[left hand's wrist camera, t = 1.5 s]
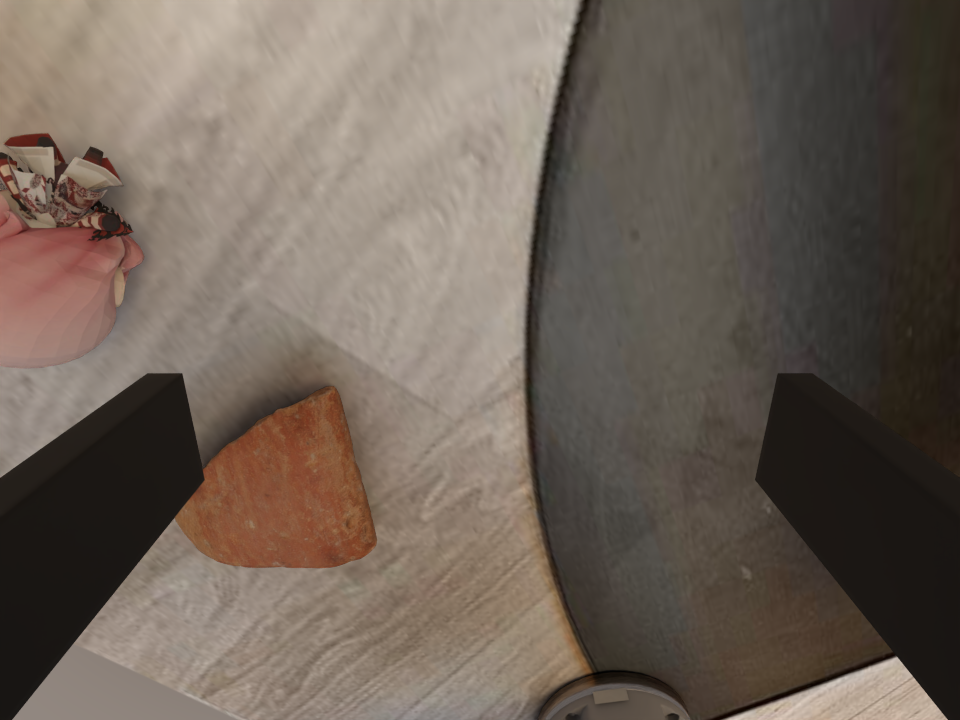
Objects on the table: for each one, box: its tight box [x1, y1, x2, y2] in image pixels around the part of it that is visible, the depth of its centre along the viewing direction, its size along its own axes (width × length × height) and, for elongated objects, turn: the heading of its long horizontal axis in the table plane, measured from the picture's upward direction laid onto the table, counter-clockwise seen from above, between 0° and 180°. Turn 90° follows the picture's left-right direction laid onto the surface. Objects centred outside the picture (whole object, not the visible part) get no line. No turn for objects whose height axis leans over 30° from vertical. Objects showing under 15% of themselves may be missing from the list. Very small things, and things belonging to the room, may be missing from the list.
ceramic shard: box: [175, 386, 377, 568], centre depth 44 cm, size 15×6×15 cm
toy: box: [0, 133, 144, 368], centre depth 34 cm, size 12×11×15 cm
